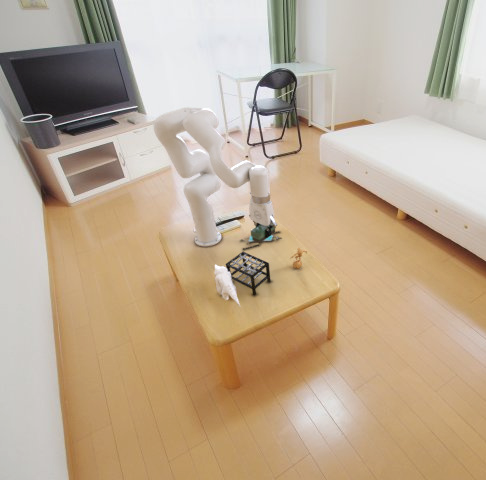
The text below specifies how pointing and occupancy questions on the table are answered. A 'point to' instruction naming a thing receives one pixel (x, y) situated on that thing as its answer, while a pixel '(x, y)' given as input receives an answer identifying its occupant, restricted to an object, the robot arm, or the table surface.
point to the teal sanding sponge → (260, 233)
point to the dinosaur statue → (225, 283)
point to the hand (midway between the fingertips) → (263, 234)
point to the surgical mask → (264, 240)
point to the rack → (249, 267)
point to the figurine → (298, 263)
